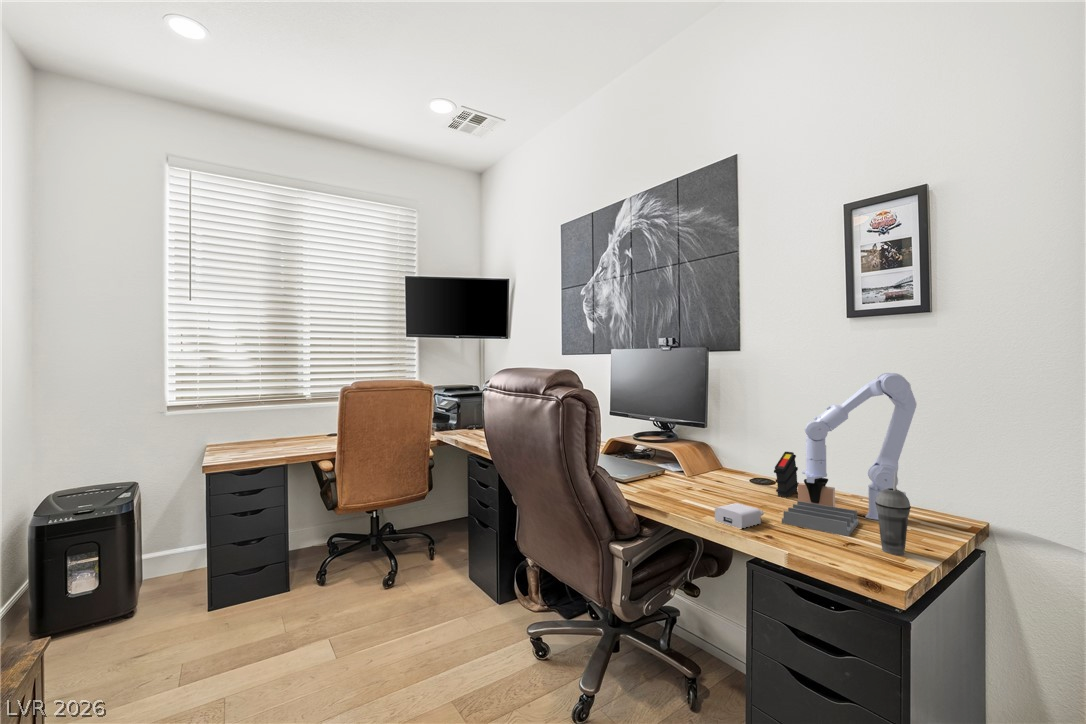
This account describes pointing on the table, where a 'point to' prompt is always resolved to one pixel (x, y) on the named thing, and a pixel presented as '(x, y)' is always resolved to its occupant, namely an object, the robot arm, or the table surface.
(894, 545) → the beverage cup
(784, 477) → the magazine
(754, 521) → the charger
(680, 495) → the table surface
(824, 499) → the plate
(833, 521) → the rack
